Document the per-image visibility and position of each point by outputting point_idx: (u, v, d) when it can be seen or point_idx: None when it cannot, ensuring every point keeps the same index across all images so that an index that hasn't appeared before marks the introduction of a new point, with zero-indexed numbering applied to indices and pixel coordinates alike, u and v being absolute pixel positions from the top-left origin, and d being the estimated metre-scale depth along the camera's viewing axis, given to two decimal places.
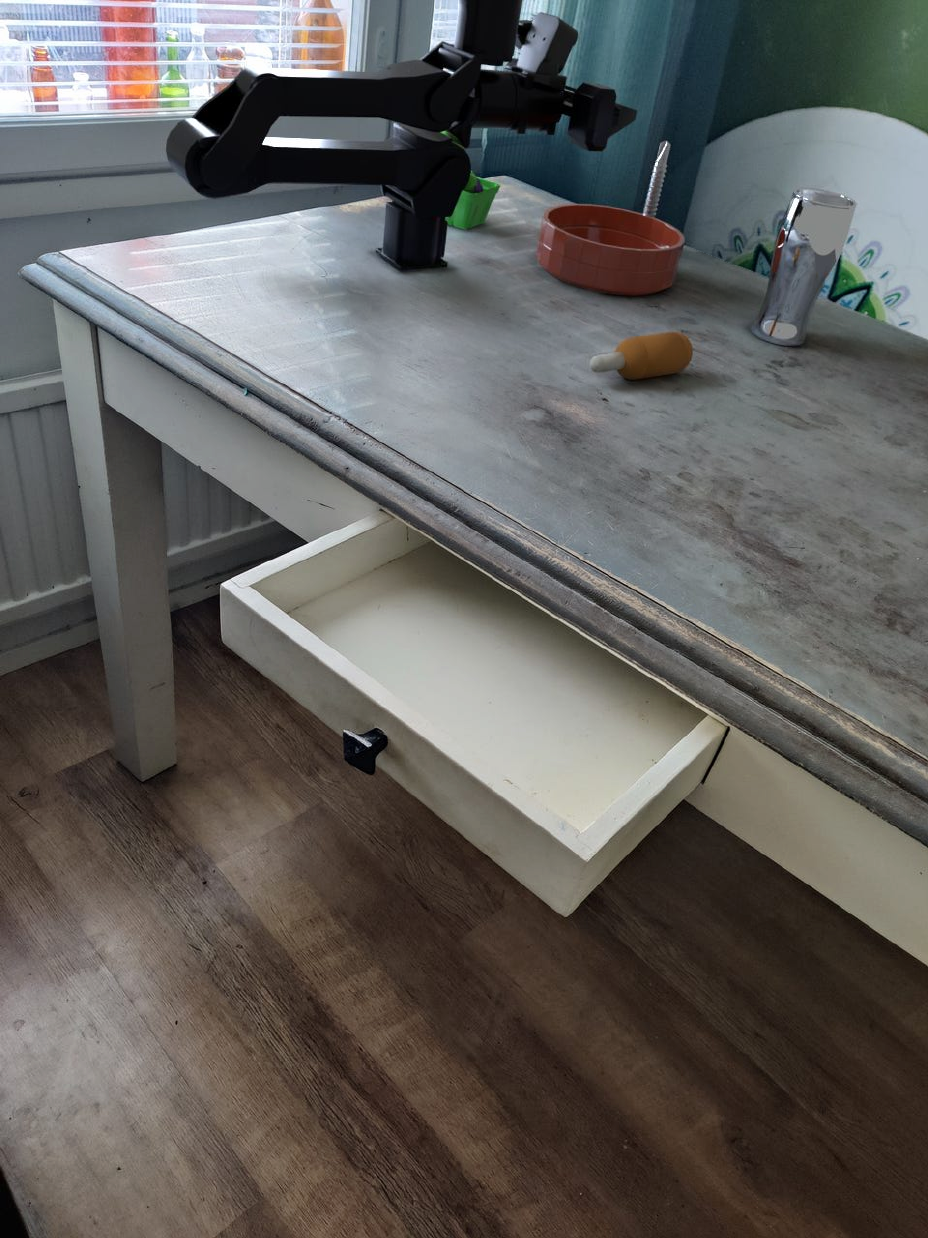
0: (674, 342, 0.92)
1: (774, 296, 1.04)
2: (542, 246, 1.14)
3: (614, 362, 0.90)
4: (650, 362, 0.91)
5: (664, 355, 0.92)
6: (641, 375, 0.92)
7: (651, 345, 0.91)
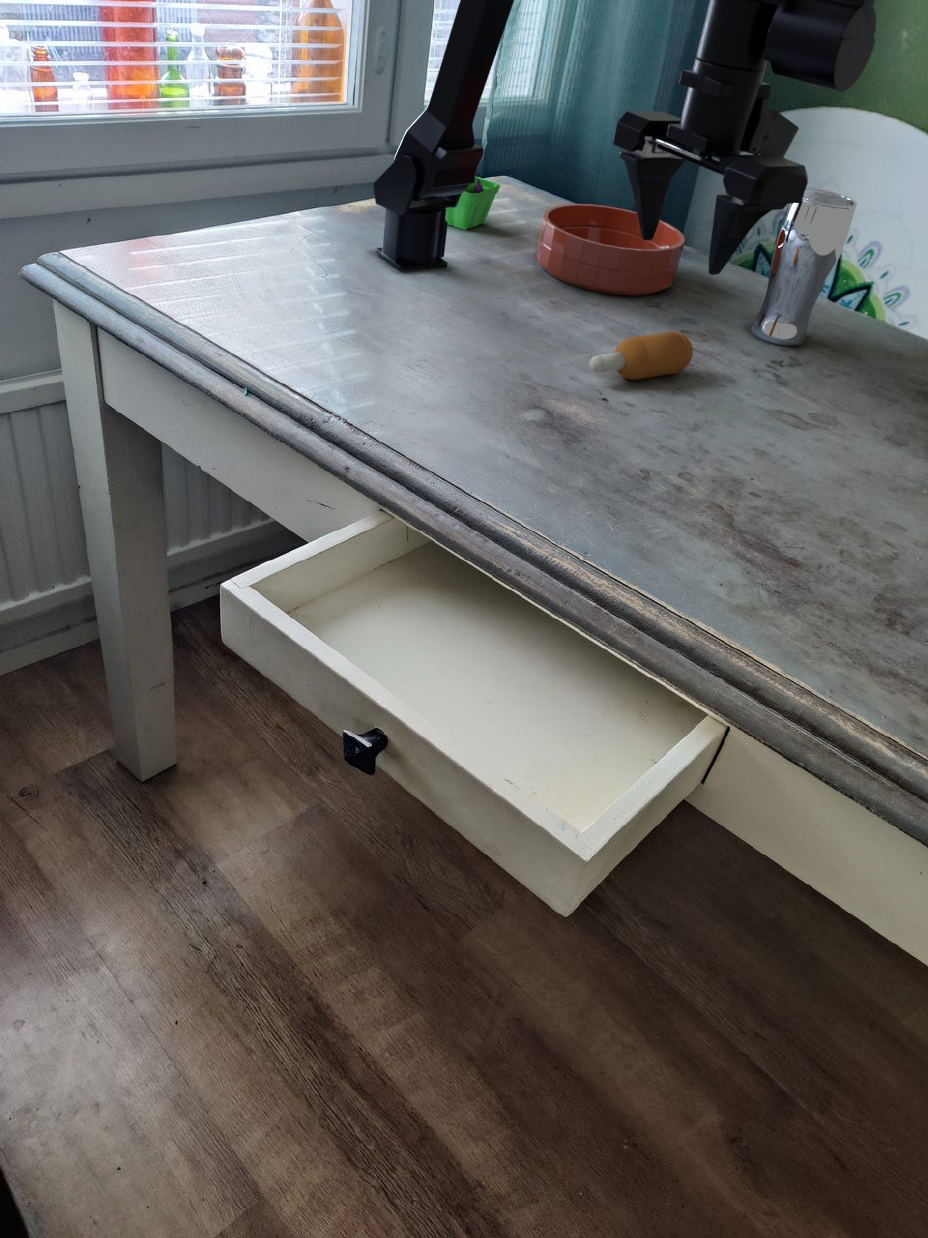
0: (674, 342, 0.92)
1: (774, 296, 1.04)
2: (542, 246, 1.14)
3: (614, 362, 0.90)
4: (650, 362, 0.91)
5: (664, 355, 0.92)
6: (641, 375, 0.92)
7: (651, 345, 0.91)
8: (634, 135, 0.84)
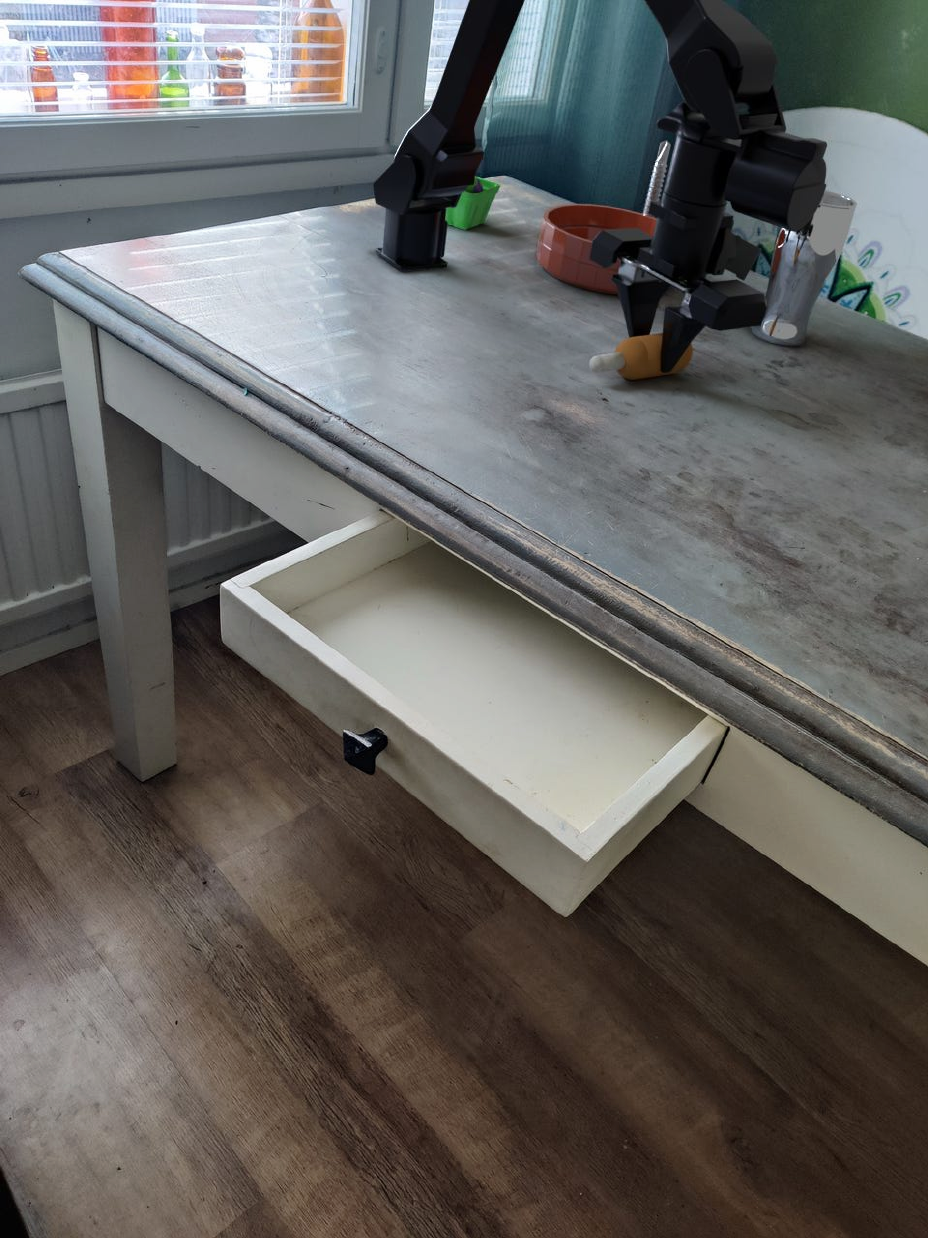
0: None
1: (774, 296, 1.04)
2: (542, 246, 1.14)
3: (614, 362, 0.90)
4: (650, 362, 0.91)
5: None
6: (641, 375, 0.92)
7: (650, 345, 0.91)
8: (608, 254, 0.91)
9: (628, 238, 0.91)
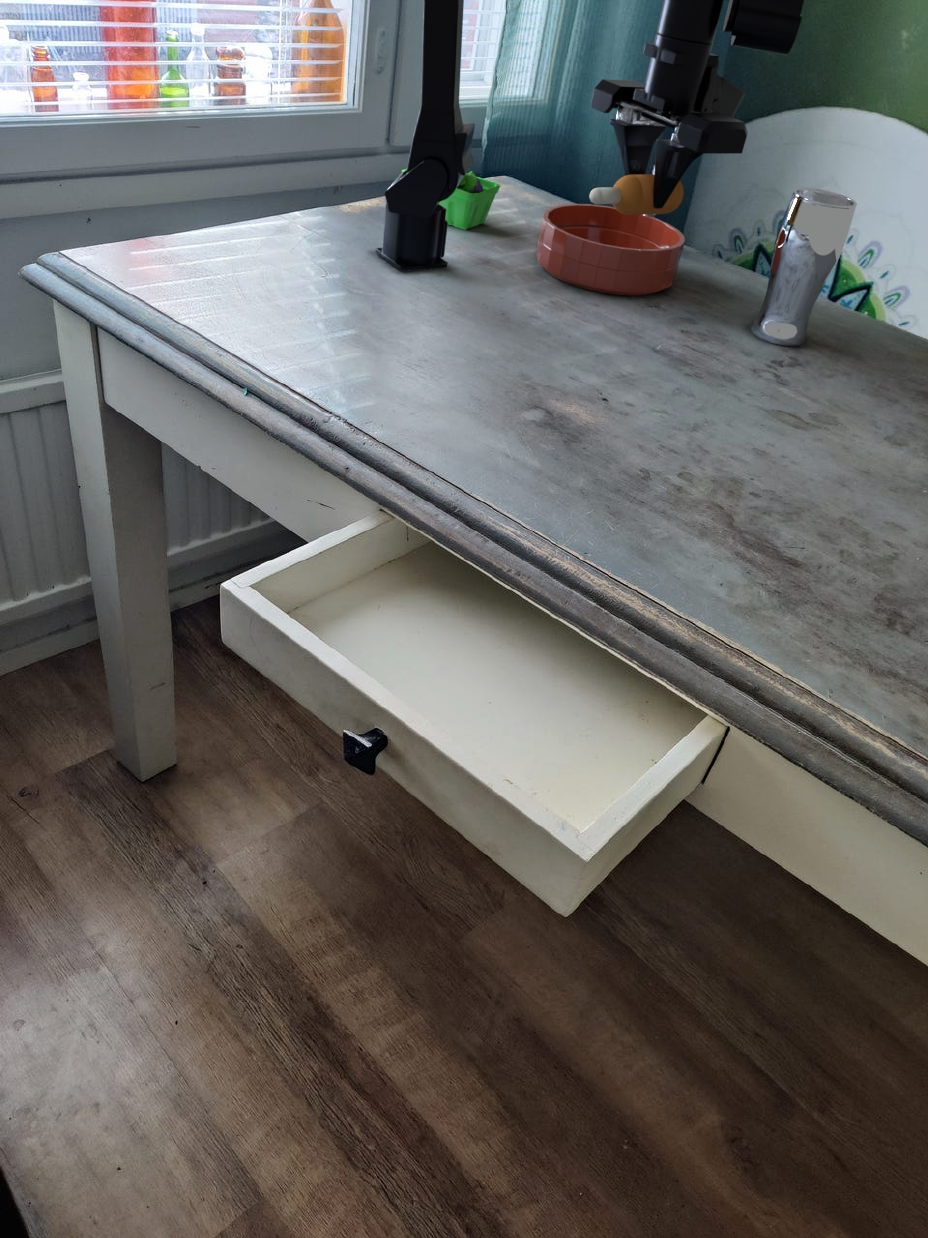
0: None
1: (774, 296, 1.04)
2: (542, 246, 1.14)
3: (611, 194, 1.00)
4: (644, 197, 1.01)
5: None
6: (636, 209, 1.02)
7: (645, 181, 1.01)
8: (607, 99, 1.01)
9: (625, 85, 1.01)
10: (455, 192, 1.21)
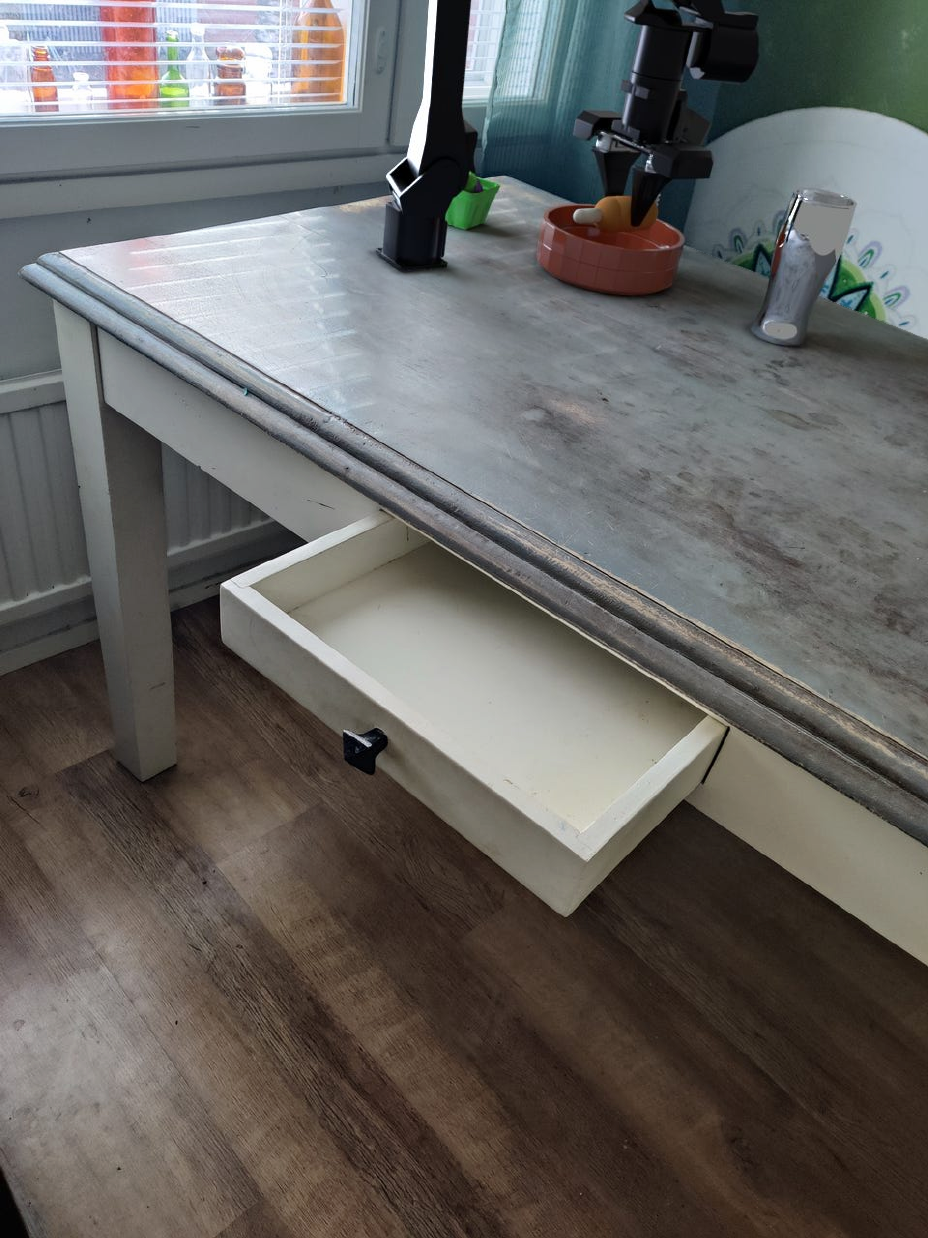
0: None
1: (774, 296, 1.04)
2: (542, 246, 1.14)
3: (593, 214, 1.11)
4: (623, 216, 1.12)
5: None
6: (615, 227, 1.13)
7: (623, 202, 1.12)
8: (588, 128, 1.12)
9: (604, 115, 1.12)
10: None
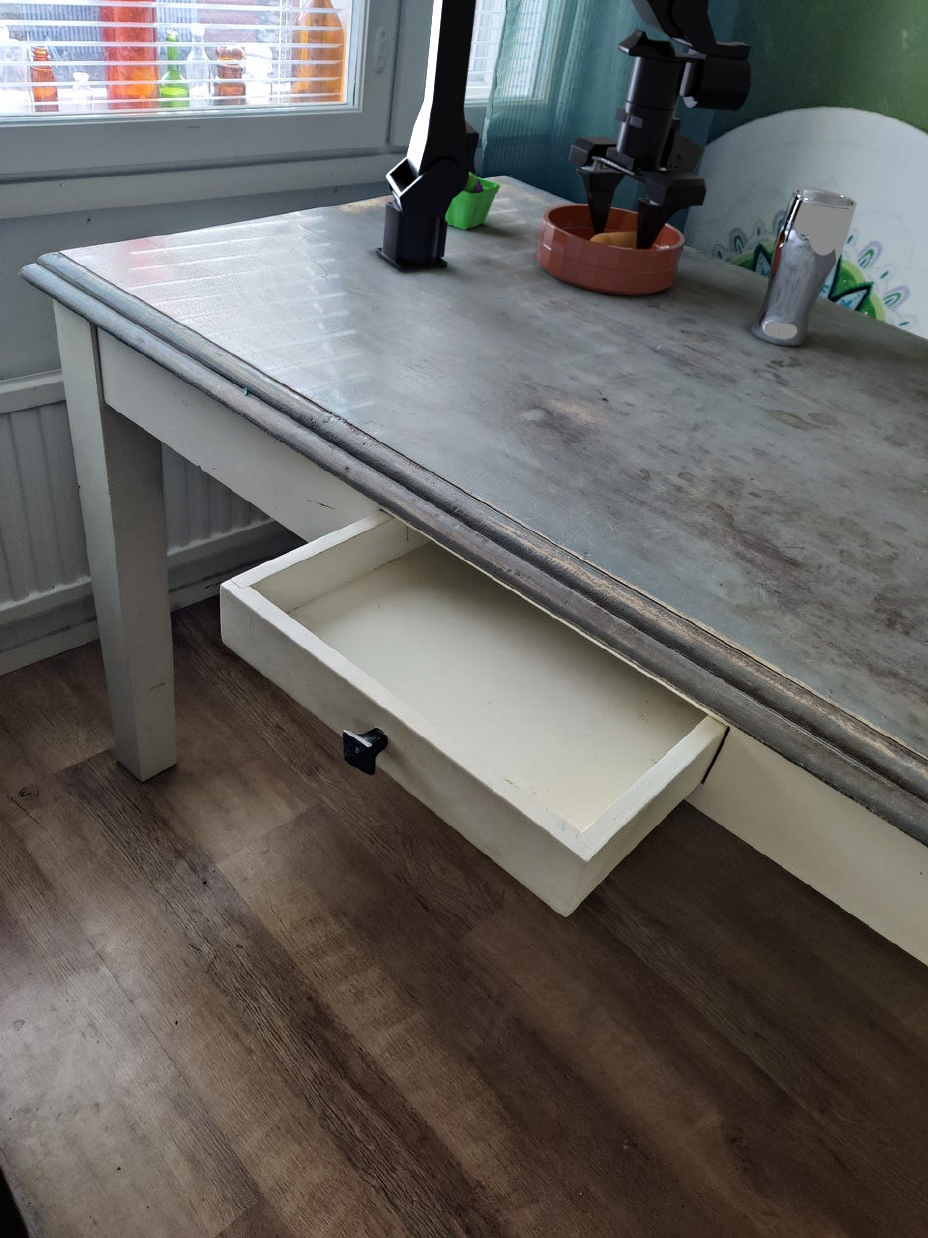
0: (634, 238, 1.16)
1: (774, 296, 1.04)
2: (542, 246, 1.14)
3: None
4: None
5: (626, 247, 1.15)
6: None
7: (615, 239, 1.15)
8: (584, 155, 1.14)
9: (599, 142, 1.14)
10: None
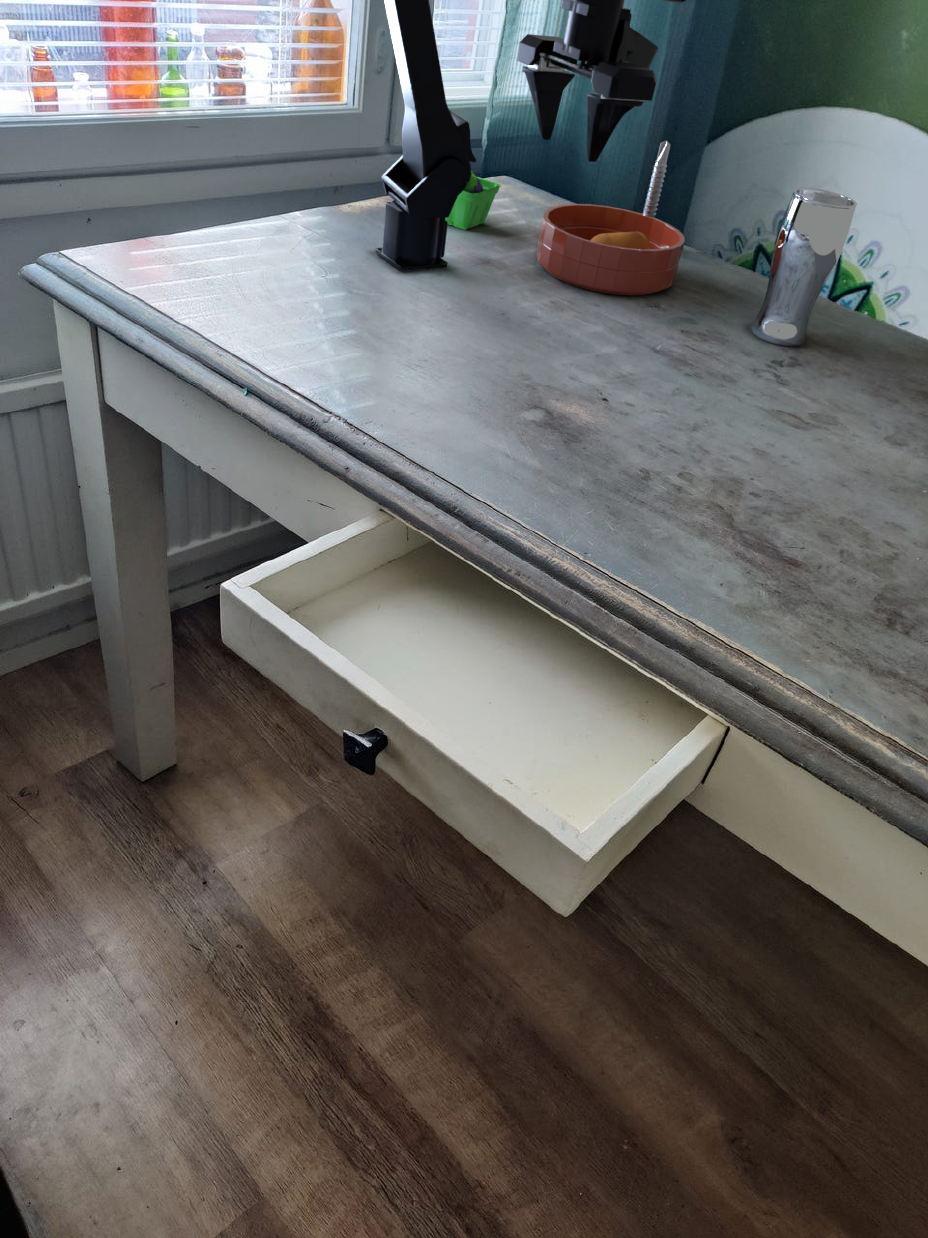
0: (635, 239, 1.16)
1: (774, 296, 1.04)
2: (542, 246, 1.14)
3: None
4: None
5: None
6: None
7: (616, 240, 1.15)
8: (531, 51, 1.08)
9: (548, 39, 1.08)
10: None
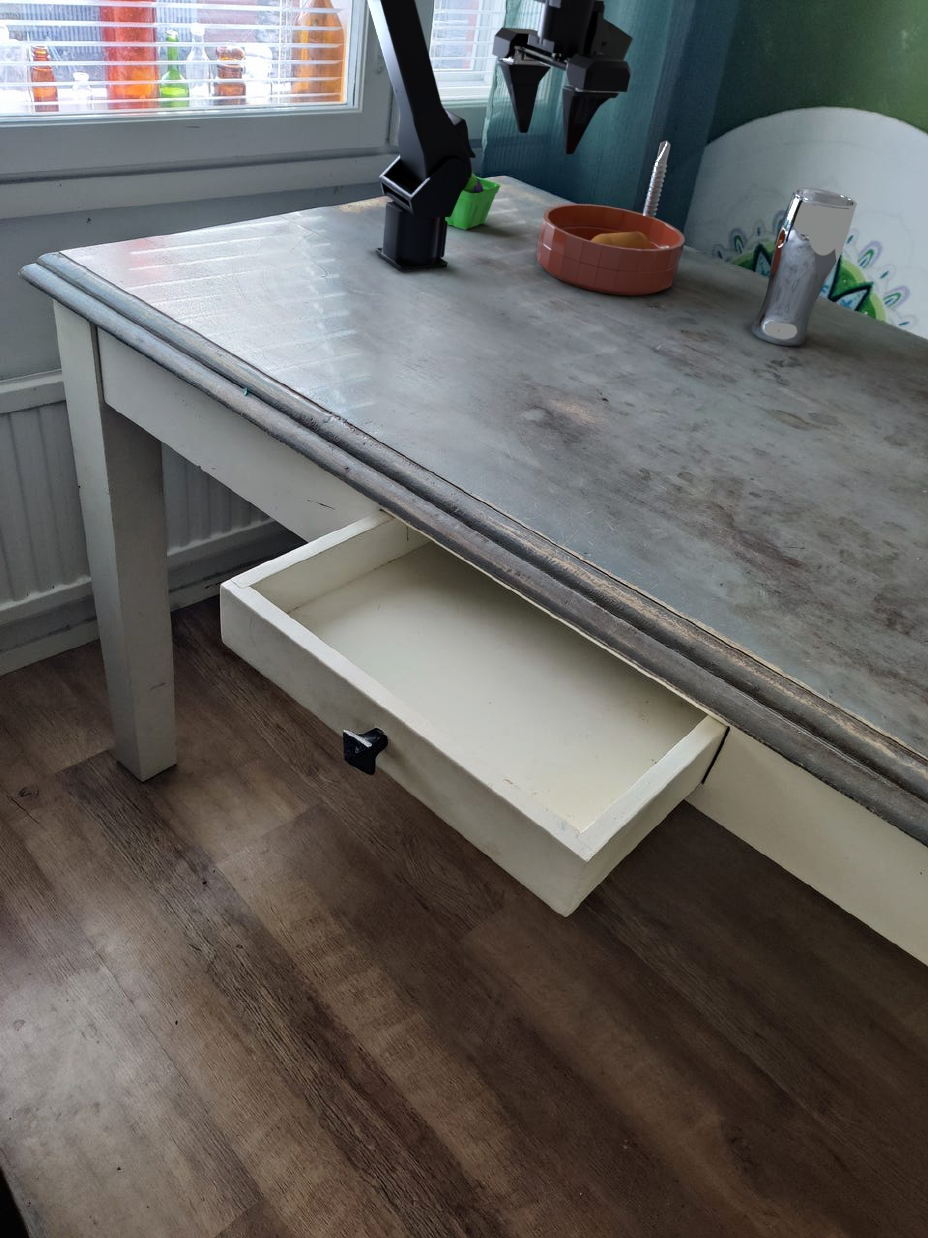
0: (636, 239, 1.16)
1: (774, 296, 1.04)
2: (542, 246, 1.14)
3: None
4: None
5: None
6: None
7: (616, 241, 1.14)
8: (506, 45, 1.08)
9: (523, 32, 1.08)
10: None
